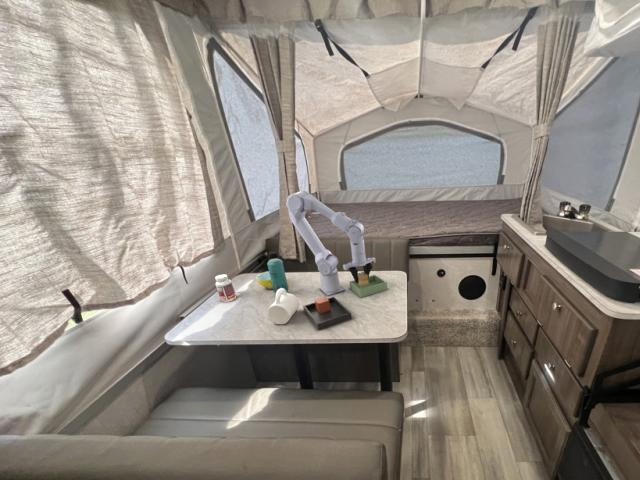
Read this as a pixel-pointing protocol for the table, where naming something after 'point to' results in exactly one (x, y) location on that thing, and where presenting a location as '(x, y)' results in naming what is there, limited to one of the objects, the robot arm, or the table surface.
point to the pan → (327, 314)
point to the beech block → (362, 279)
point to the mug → (282, 307)
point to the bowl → (265, 280)
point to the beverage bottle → (277, 272)
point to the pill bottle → (225, 288)
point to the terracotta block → (322, 305)
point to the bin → (369, 286)
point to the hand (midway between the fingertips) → (361, 281)
